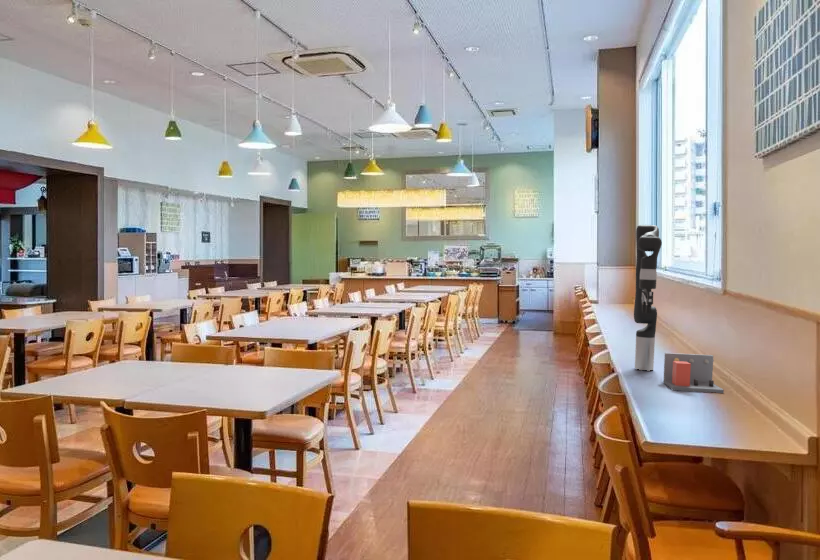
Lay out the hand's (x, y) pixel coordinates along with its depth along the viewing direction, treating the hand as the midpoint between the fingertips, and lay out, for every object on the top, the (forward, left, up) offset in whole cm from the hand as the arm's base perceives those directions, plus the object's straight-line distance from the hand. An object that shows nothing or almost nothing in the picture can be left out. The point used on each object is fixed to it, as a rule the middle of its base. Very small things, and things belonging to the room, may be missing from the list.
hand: (646, 312), depth 299 cm
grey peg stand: (+13, +19, -32) cm, 39 cm away
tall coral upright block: (+15, +13, -31) cm, 36 cm away
